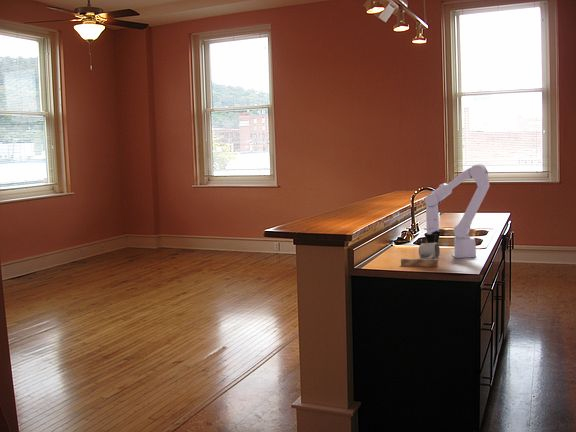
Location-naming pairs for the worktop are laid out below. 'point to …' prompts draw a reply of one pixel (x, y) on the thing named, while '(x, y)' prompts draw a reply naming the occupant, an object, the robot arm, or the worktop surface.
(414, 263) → the rail
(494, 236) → the worktop surface
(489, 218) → the worktop surface
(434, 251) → the ceramic mug
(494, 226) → the worktop surface
